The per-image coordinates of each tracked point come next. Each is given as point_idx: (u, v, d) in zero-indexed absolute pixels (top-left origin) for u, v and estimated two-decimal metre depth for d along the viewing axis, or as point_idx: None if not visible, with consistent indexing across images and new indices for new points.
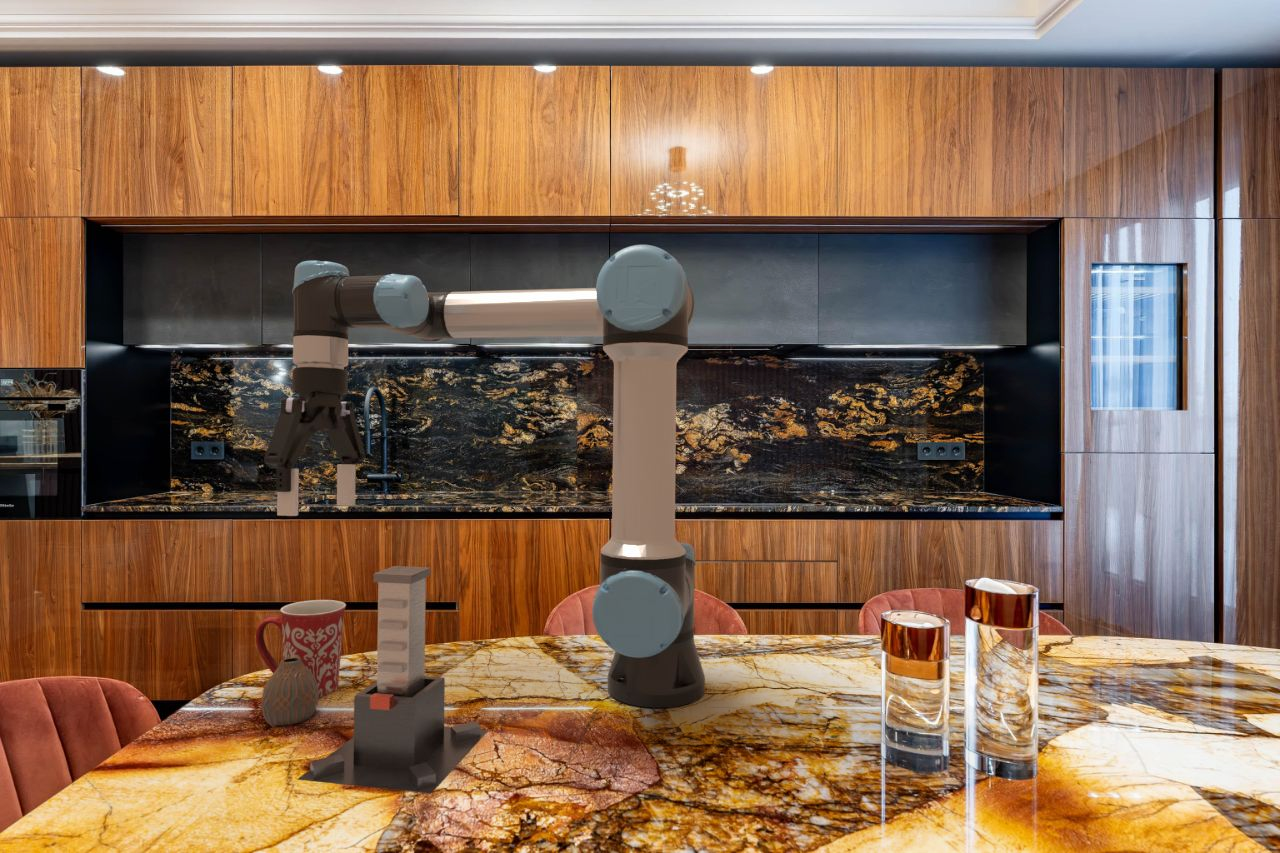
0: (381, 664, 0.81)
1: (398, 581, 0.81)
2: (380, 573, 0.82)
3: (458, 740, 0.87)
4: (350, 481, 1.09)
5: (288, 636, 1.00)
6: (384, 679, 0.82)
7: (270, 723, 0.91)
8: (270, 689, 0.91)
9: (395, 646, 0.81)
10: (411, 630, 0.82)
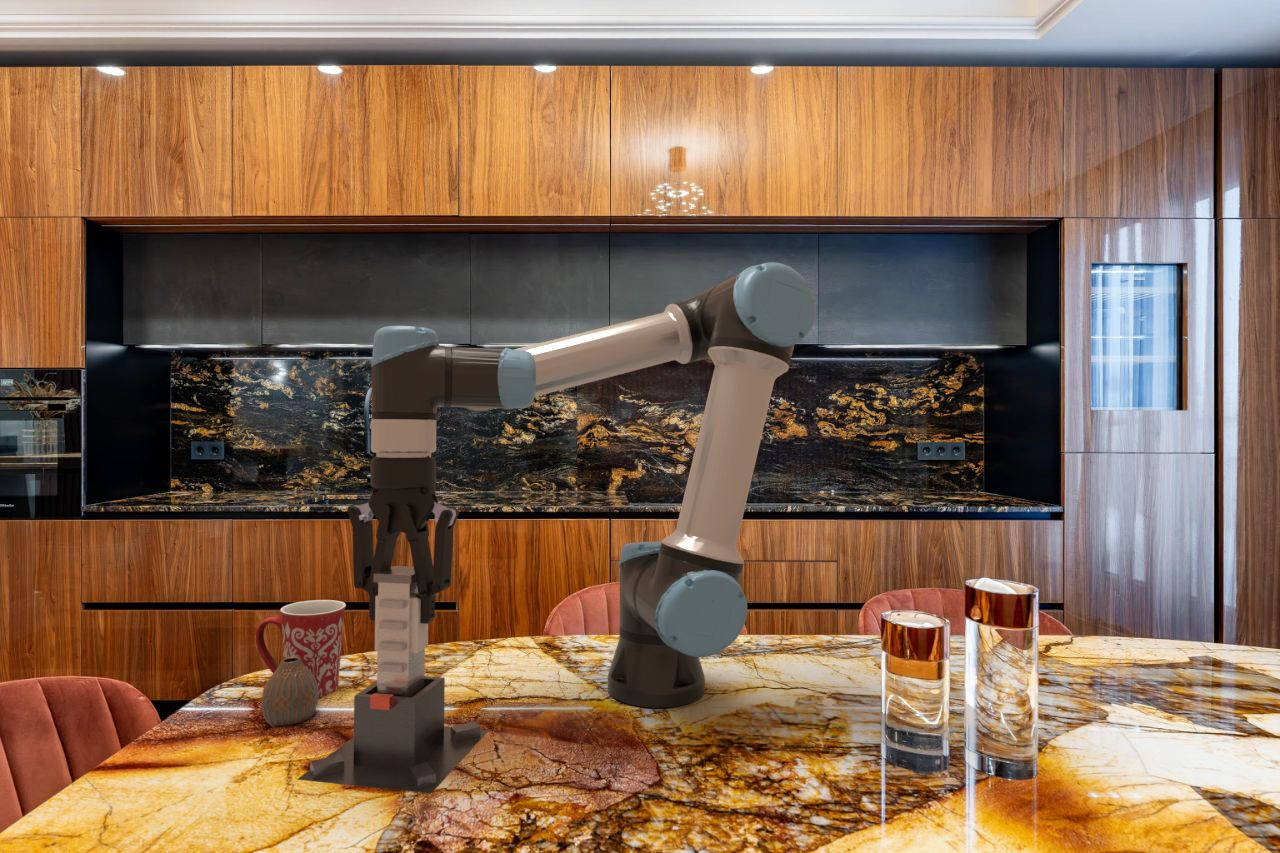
0: (381, 664, 0.81)
1: (398, 581, 0.81)
2: (380, 573, 0.82)
3: (458, 740, 0.87)
4: None
5: (288, 636, 1.00)
6: (384, 679, 0.82)
7: (270, 723, 0.91)
8: (270, 689, 0.91)
9: (395, 646, 0.81)
10: (411, 630, 0.82)
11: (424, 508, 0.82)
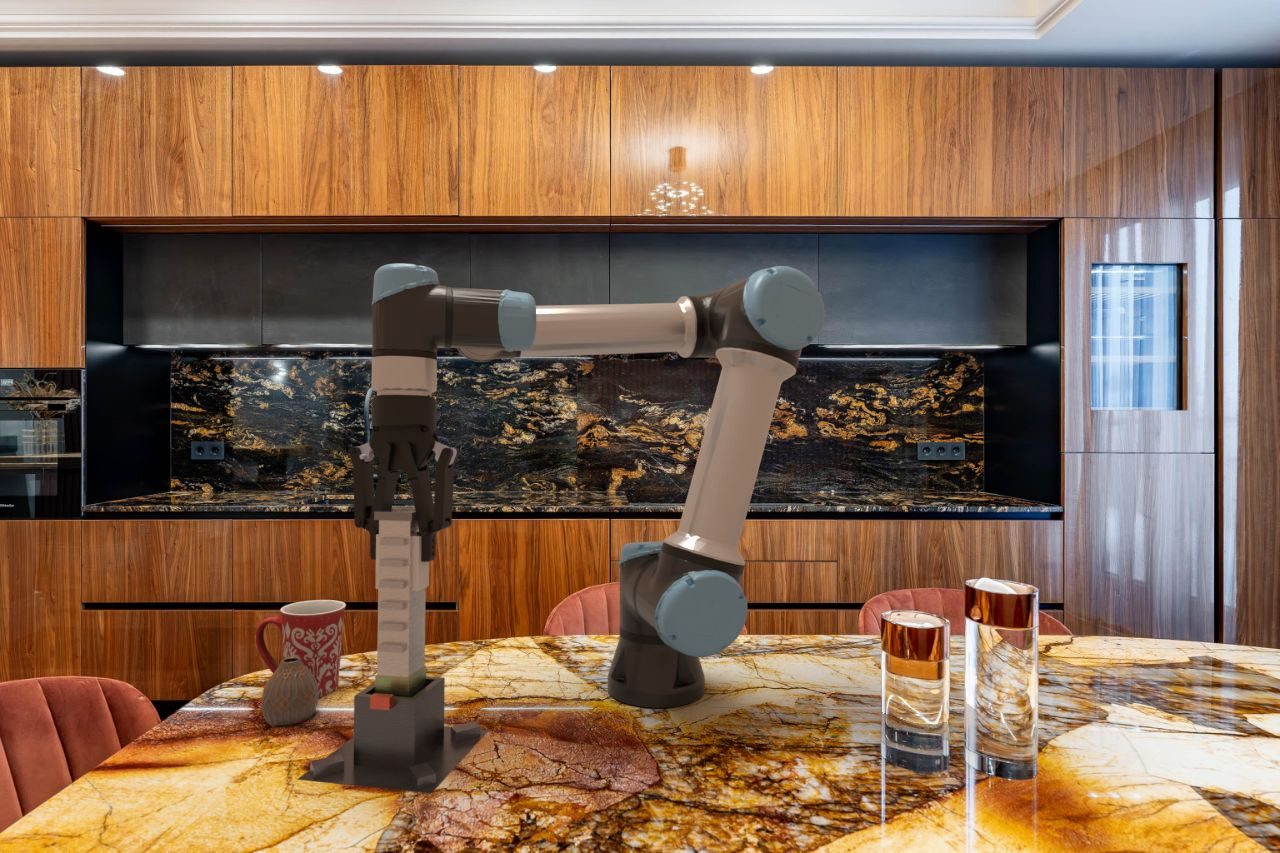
0: (382, 602, 0.81)
1: (399, 518, 0.81)
2: (381, 511, 0.82)
3: (458, 740, 0.87)
4: None
5: (288, 636, 1.00)
6: (385, 616, 0.82)
7: (270, 723, 0.91)
8: (270, 689, 0.91)
9: (396, 583, 0.81)
10: (411, 567, 0.82)
11: (425, 446, 0.82)
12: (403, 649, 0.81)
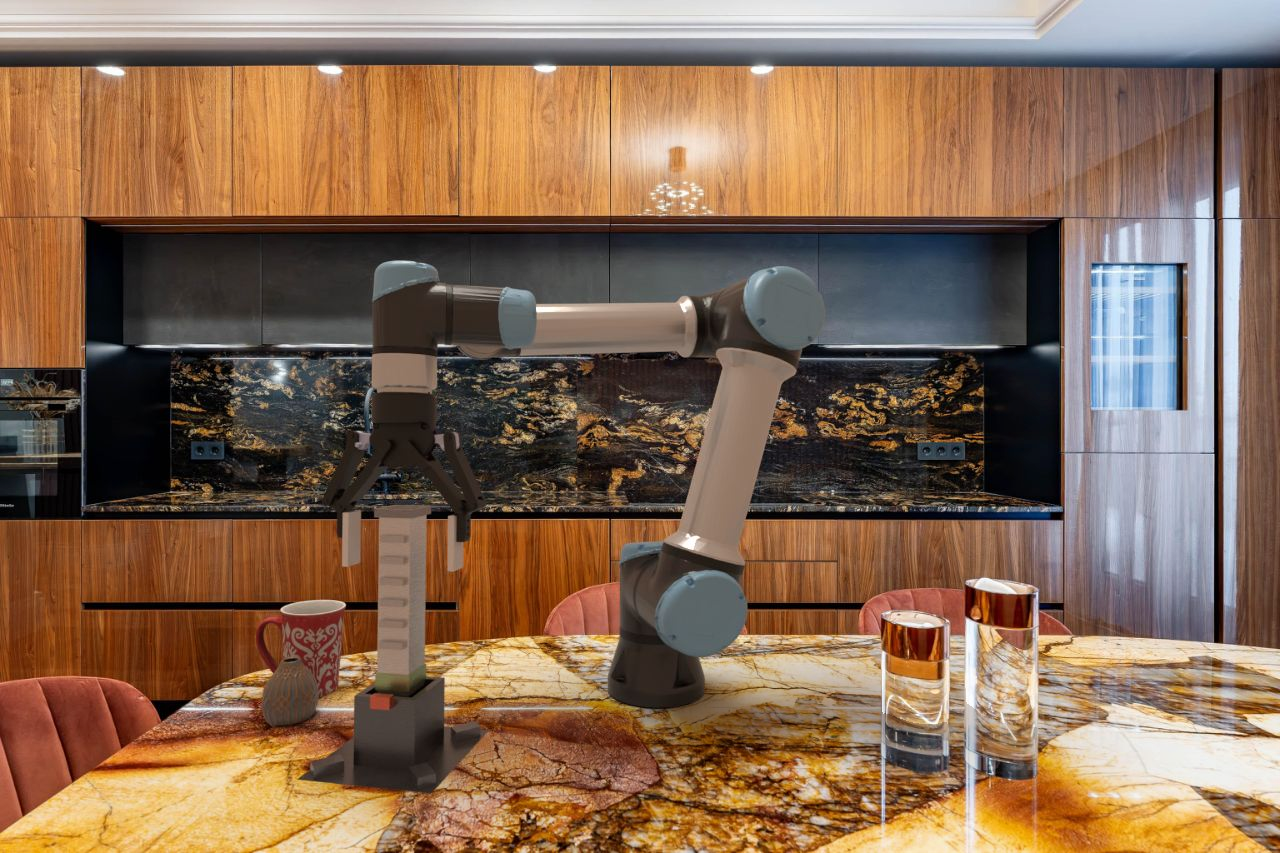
0: (382, 599, 0.81)
1: (399, 516, 0.81)
2: (381, 508, 0.82)
3: (458, 740, 0.87)
4: None
5: (288, 636, 1.00)
6: (385, 614, 0.82)
7: (270, 723, 0.91)
8: (270, 689, 0.91)
9: (396, 581, 0.81)
10: (411, 565, 0.82)
11: (426, 442, 0.82)
12: (403, 646, 0.81)
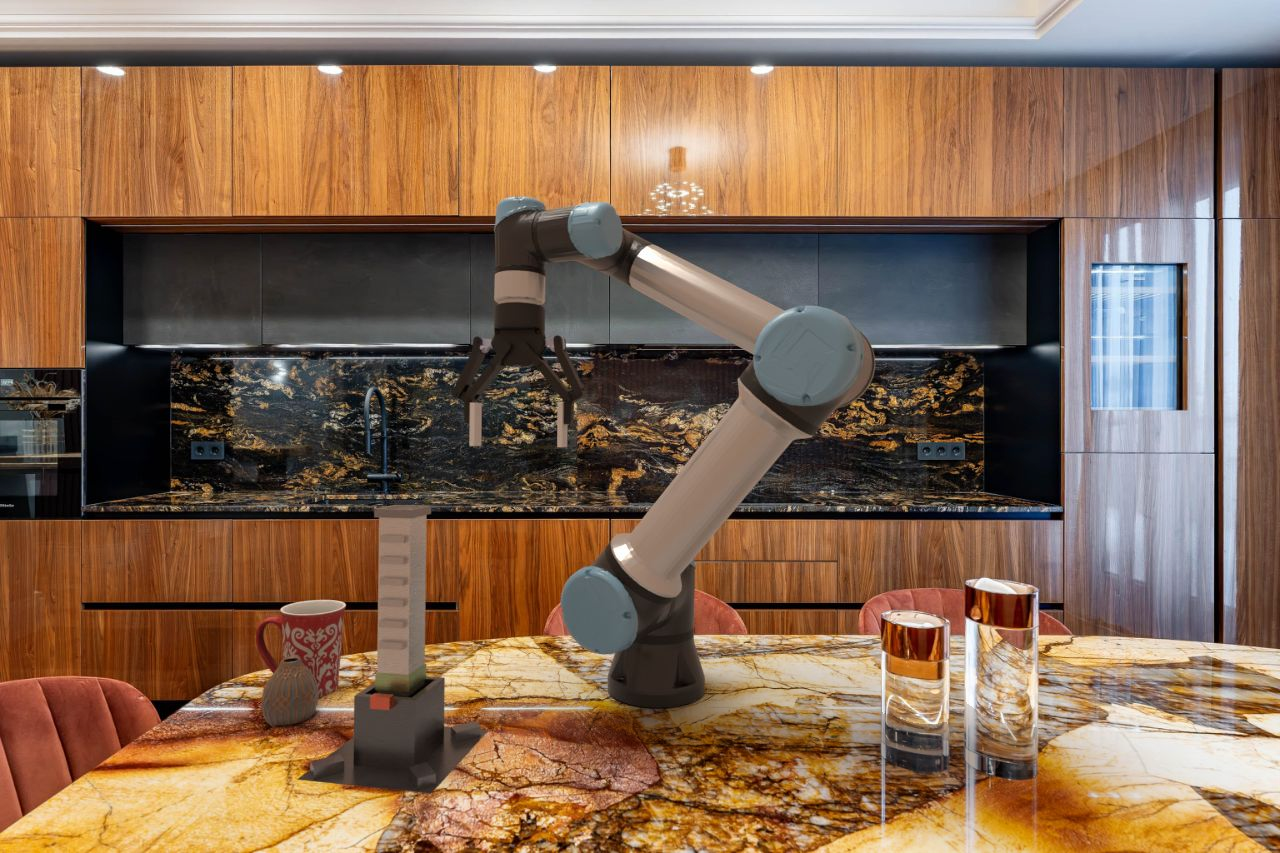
0: (382, 599, 0.81)
1: (399, 516, 0.81)
2: (381, 508, 0.82)
3: (458, 740, 0.87)
4: None
5: (288, 636, 1.00)
6: (385, 614, 0.82)
7: (270, 723, 0.91)
8: (270, 689, 0.91)
9: (396, 581, 0.81)
10: (411, 565, 0.82)
11: (539, 344, 1.02)
12: (403, 646, 0.81)
